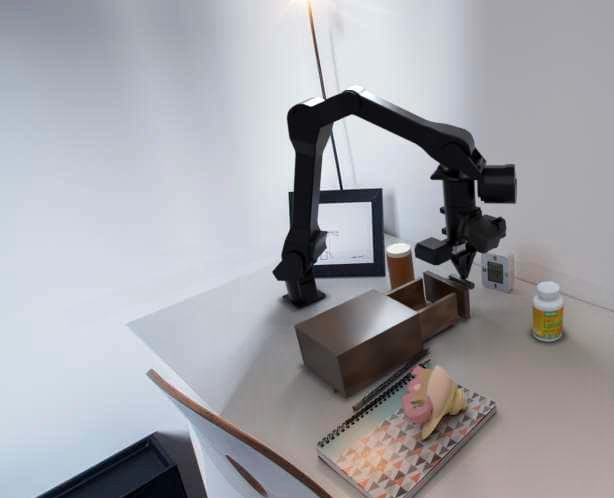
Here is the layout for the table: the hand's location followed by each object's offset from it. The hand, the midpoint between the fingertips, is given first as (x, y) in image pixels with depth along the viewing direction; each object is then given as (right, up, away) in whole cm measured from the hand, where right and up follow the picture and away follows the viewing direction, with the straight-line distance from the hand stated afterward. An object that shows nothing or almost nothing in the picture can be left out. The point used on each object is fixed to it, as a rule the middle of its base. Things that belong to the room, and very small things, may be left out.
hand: (464, 278), depth 103 cm
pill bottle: (-13, -3, +7) cm, 15 cm away
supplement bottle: (+15, -10, -8) cm, 20 cm away
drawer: (-6, -8, -4) cm, 11 cm away
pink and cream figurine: (-3, -21, -26) cm, 34 cm away
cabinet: (-16, -14, -13) cm, 25 cm away
